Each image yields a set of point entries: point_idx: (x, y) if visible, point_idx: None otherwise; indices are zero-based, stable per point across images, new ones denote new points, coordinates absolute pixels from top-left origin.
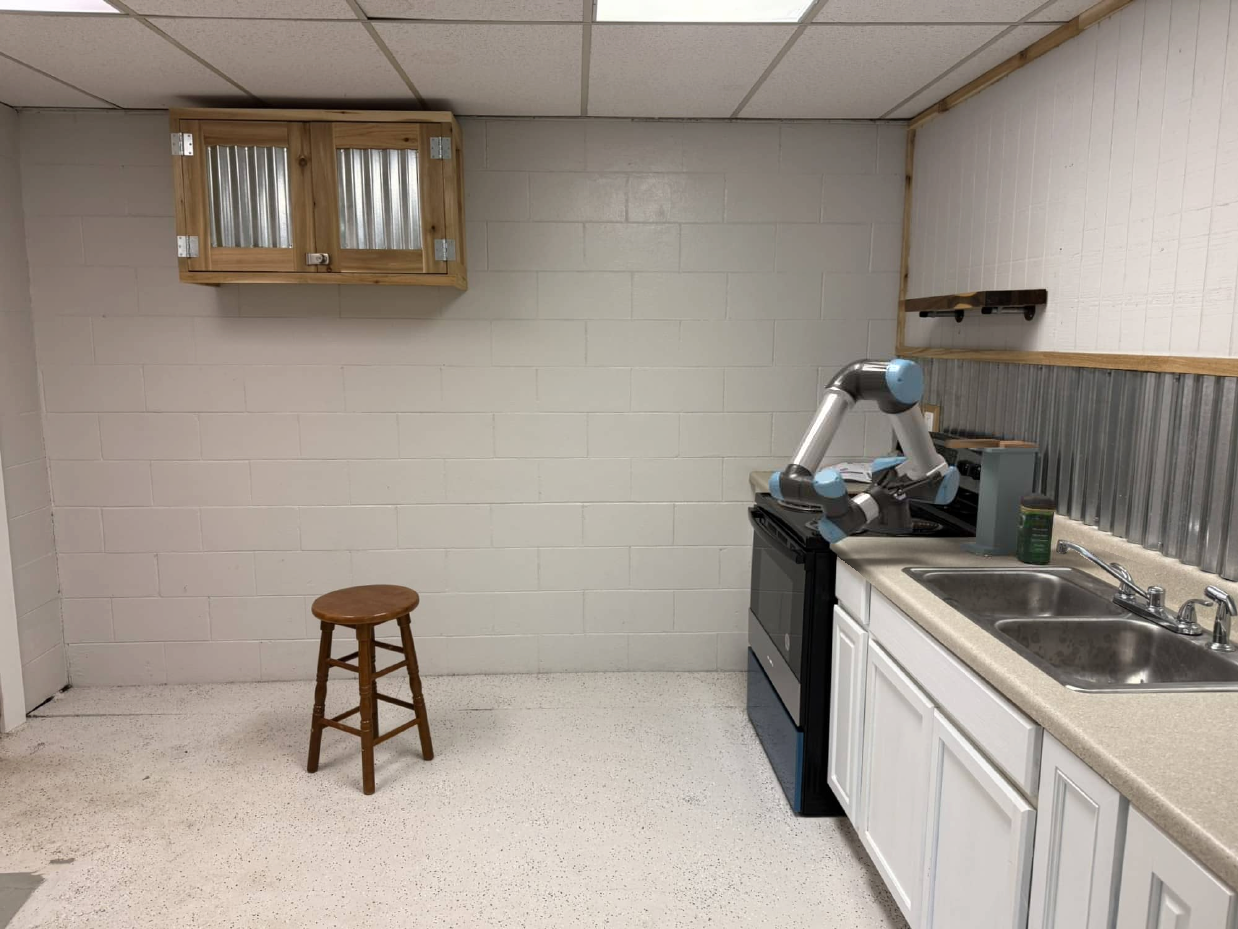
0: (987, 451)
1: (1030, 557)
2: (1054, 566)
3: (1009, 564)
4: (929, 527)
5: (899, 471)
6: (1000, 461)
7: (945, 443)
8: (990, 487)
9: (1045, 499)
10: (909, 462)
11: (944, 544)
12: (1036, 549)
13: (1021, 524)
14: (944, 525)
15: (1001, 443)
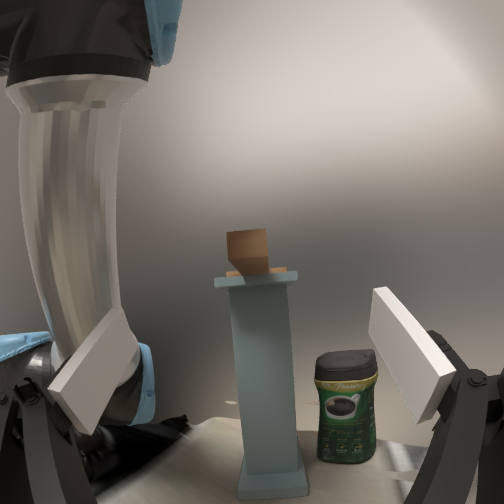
0: (284, 280)
1: (372, 450)
2: (379, 441)
3: (374, 479)
4: (97, 440)
5: (79, 407)
6: (287, 305)
7: (229, 245)
8: (270, 368)
9: (374, 353)
10: (109, 342)
11: (188, 498)
12: (374, 435)
13: (347, 412)
14: (107, 427)
15: (275, 268)
